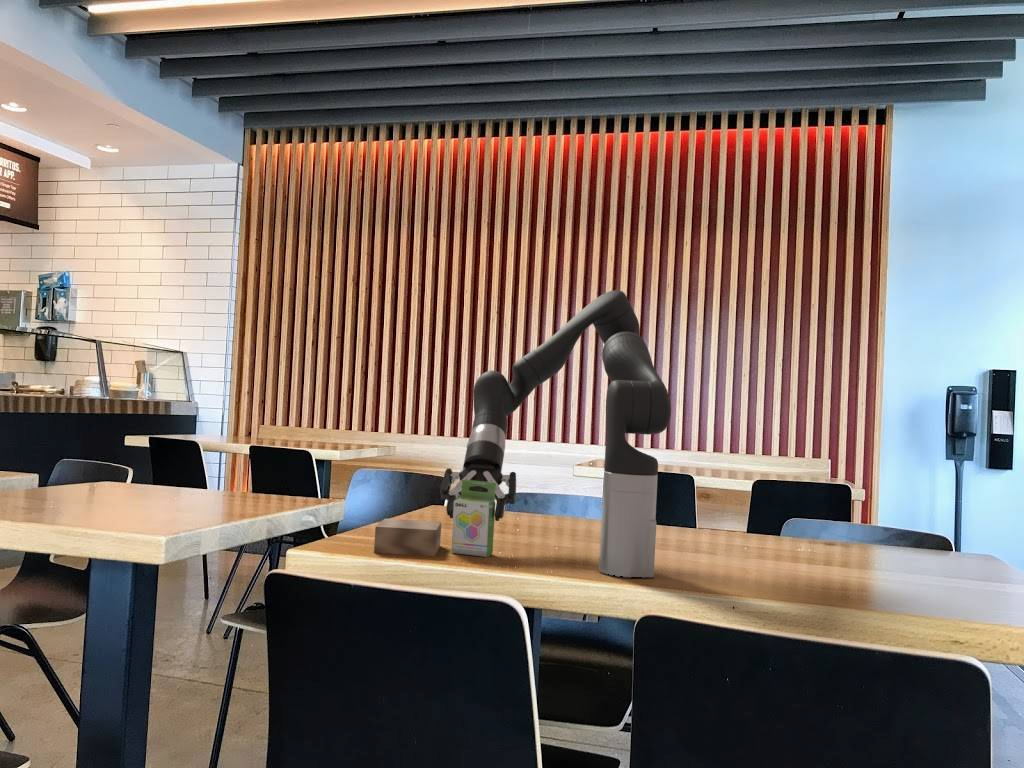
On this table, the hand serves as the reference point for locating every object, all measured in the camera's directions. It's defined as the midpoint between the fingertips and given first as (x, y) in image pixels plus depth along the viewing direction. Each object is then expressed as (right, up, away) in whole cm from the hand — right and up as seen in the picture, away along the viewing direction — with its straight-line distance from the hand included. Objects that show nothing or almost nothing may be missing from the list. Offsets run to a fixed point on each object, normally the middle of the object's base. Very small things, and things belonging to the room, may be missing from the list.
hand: (473, 517), depth 149 cm
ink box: (0, -7, 0) cm, 7 cm away
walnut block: (-12, -7, +2) cm, 14 cm away
